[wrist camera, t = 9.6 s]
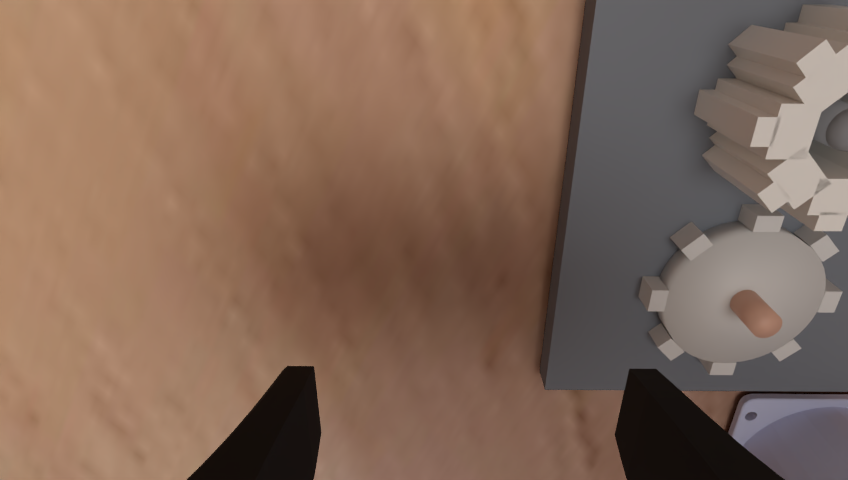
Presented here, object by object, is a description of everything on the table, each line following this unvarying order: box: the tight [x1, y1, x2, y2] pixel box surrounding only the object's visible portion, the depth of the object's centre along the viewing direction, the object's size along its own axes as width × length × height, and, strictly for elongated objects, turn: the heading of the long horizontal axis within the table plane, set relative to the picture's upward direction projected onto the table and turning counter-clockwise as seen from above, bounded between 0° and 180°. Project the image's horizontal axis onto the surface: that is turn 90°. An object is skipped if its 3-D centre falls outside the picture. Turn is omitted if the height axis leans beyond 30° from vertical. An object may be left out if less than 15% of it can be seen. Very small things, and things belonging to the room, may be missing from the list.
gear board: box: [540, 0, 848, 392], centre depth 17 cm, size 24×13×5 cm, turn 0°
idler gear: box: [694, 4, 848, 231], centre depth 16 cm, size 6×6×4 cm
